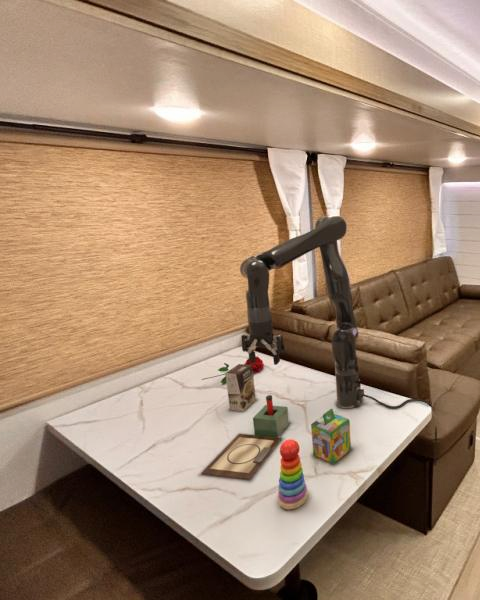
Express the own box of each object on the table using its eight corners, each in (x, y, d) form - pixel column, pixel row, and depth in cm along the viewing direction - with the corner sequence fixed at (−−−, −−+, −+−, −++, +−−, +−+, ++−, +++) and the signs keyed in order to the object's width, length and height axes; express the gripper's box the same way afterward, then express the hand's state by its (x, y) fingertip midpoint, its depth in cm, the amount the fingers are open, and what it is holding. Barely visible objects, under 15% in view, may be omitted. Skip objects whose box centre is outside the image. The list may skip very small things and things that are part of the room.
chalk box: (333, 465, 117) (330, 423, 113) (312, 455, 122) (309, 415, 118) (352, 449, 124) (350, 409, 121) (331, 440, 129) (329, 402, 125)
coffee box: (243, 411, 147) (239, 374, 143) (229, 410, 149) (224, 373, 144) (256, 400, 156) (252, 364, 152) (243, 398, 157) (238, 363, 153)
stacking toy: (274, 511, 100) (267, 450, 95) (283, 488, 107) (277, 431, 103) (304, 510, 100) (298, 450, 95) (310, 488, 107) (306, 431, 103)
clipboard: (281, 439, 130) (281, 436, 130) (250, 480, 111) (249, 476, 111) (239, 435, 132) (238, 431, 132) (201, 474, 113) (200, 470, 113)
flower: (204, 367, 161) (265, 350, 185) (195, 371, 167) (256, 355, 190) (210, 387, 160) (271, 368, 184) (201, 391, 166) (261, 372, 189)
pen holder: (289, 423, 139) (287, 406, 137) (277, 437, 131) (276, 420, 129) (267, 421, 141) (265, 404, 139) (254, 435, 132) (252, 418, 130)
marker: (276, 427, 137) (273, 395, 134) (273, 430, 135) (270, 398, 132) (271, 426, 137) (267, 394, 134) (268, 430, 135) (264, 397, 132)
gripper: (233, 321, 122) (239, 366, 126) (274, 322, 120) (279, 369, 124) (246, 314, 129) (251, 357, 134) (284, 315, 127) (289, 359, 131)
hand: (265, 363), depth 129 cm, fingers open, 8 cm apart
